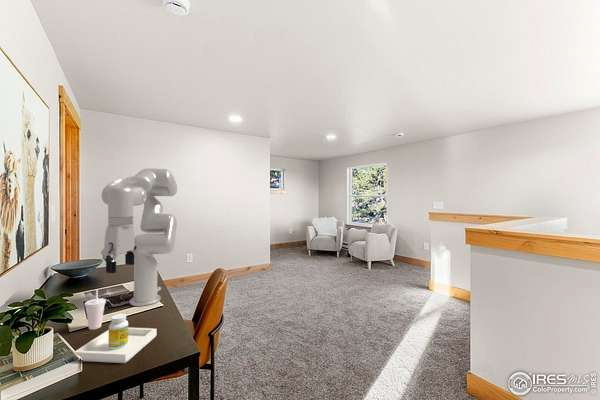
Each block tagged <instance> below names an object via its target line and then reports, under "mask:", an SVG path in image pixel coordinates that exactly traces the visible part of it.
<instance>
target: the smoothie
mask: <svg viewBox="0 0 600 400" xmlns="http://www.w3.org/2000/svg"><path fill="white" fill-rule="evenodd" d="M98 295H99V290H98V289H96V290H95V298H94V299H93V298H92V299H90V300H87V301H85V303H84V307H85V311H86V318H87V327H88V329H89V330H91V331H92V330H97V329H99V328H101V327H102V322H103V318H104V311H105V304H106V303H107V300H106V298H99V296H98Z"/></svg>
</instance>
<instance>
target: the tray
mask: <svg viewBox="0 0 600 400" xmlns="http://www.w3.org/2000/svg"><path fill="white" fill-rule="evenodd" d="M157 334H158V333H157V328H149V327H129V326H128V343H127V345H126V346H124V347H122V348H119V349H110V348H109V329H108V330H106V331H104V332H103V333H101V334H100V335H98V336H97V337H95V338H93V339H92V340H89V342H87V343H86V344H84V345H83V346H81V347H80V348H78V349H77V350H74V352H75V353H76V354H77V355H79V356H80V357H81V358H82V360H83V361H82V362H97V363H99V362H100V363H116V364H117V363H118V364H126V363H127V362H129V361H130V360H131V359H132V358H133V357H134V356H136V354H138V353H139V352H140V351H141V350H142V349H143V348H144V347H145V346H147V345H148V344H149V343H150V342H151V341H152V340H154V339H155V337H157Z"/></svg>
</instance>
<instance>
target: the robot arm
mask: <svg viewBox="0 0 600 400" xmlns="http://www.w3.org/2000/svg"><path fill="white" fill-rule="evenodd" d="M175 179H176V178H175V177H174V175H173V173H172V172H171V171H170V170H168V169H167V168H166V169H165V168H143V169H141V170H140V171H139V172H137V173H136V174H135V175H132V176H128V177H125V178H119V179H116V180H113V181H111V182H109V183H108V184H106V185H105V186H104V188H103V189H102V190H101V200H102V202H103V203H104V204H105V205H107V226H106V230H105V234H104V244H103V247H104V248H103V249H102V250H101V251H100V254H101V256H102V259H103V260H104V262H105V272H106V274H115V273H117V261H116V259H117V257H118V256H119V255H123V254H124V255H125V260H124V264H125V265H131V266H133V265H134V266H133V269H134V271H133V297H132V298H131V299H130V300H129V305H131V306H134V307H142V306H143V307H144V306H149V305H153V304H156V303H158V302H159V301H160V300H161V299H162V298H161V295H160V294H158V293H159V291H161V290H162V287H161V286H158V267H159V266H158V261H157V258H156V257H155V256H154V255H167V254H171V253H172V252H173V250H174V246H175V243H176V242H175V241H176V235H177V226H178V225H177V223H178V222H177V217H176V216H175V215H174V214H172V213H163V209H164V206H163V204H162V202H161V201H160V200H159V199H158V198H157V197H175V195H176V194H177V191H178V184H177V181H176V180H175ZM142 205H143V210H142V215H141V219H140V225H139V226H140V227H139V228H140V230H141V232H143V233H141V234H137V235H135V228H134V207H137V206H142Z"/></svg>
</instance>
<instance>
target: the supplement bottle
mask: <svg viewBox="0 0 600 400" xmlns="http://www.w3.org/2000/svg"><path fill="white" fill-rule="evenodd" d="M110 320H111V321H110V322H111V323H110V324H109V325H108V330H109V348H110V349H119V348H122V347H124V346H126V345H127V343H128V327H129V321H128V320H127V314H125V313H117V314H115V315H113V316H111V319H110Z"/></svg>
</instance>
